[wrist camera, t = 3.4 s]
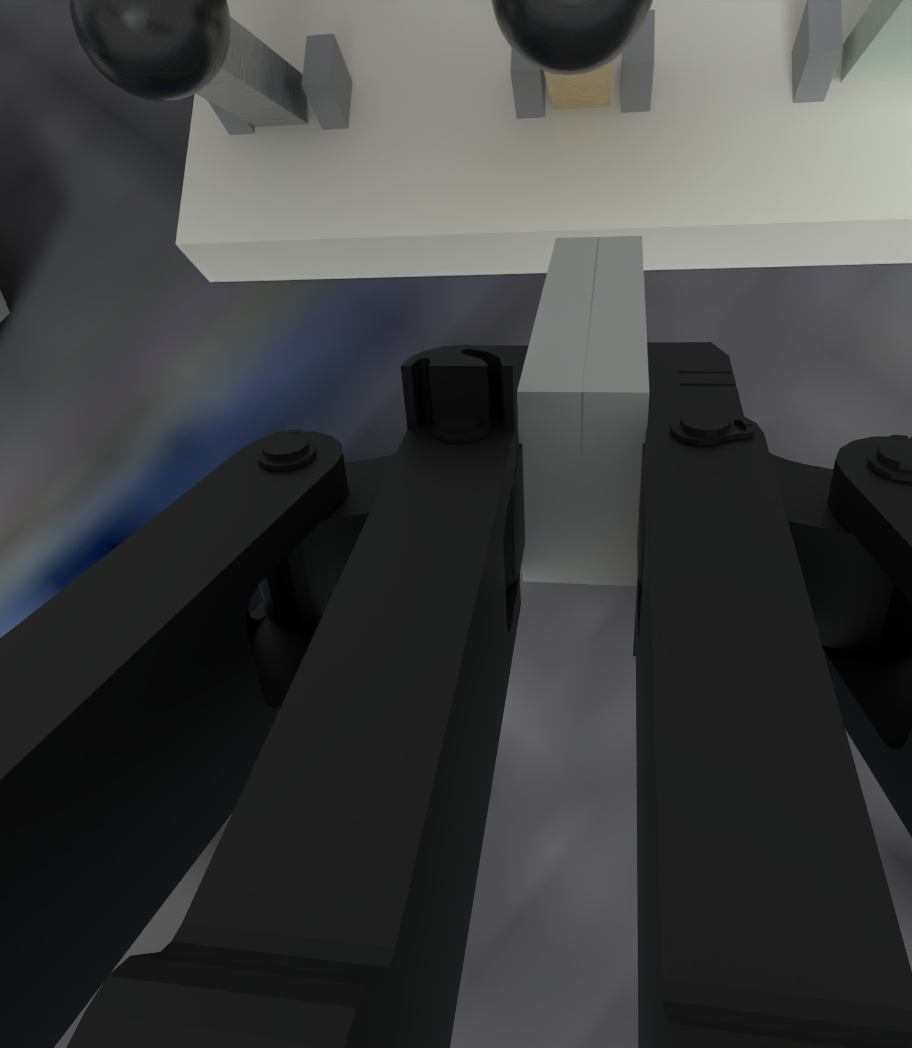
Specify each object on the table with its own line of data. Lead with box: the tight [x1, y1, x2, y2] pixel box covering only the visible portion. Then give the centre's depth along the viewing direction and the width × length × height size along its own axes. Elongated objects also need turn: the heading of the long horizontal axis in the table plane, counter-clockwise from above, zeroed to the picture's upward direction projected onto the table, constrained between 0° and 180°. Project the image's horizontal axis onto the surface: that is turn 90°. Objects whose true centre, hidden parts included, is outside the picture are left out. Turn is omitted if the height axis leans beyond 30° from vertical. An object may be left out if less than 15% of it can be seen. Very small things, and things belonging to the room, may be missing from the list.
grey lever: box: [70, 0, 308, 127], centre depth 27 cm, size 4×4×12 cm
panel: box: [176, 0, 912, 282], centre depth 32 cm, size 11×30×5 cm, turn 87°
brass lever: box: [492, 0, 653, 110], centre depth 25 cm, size 4×4×12 cm
